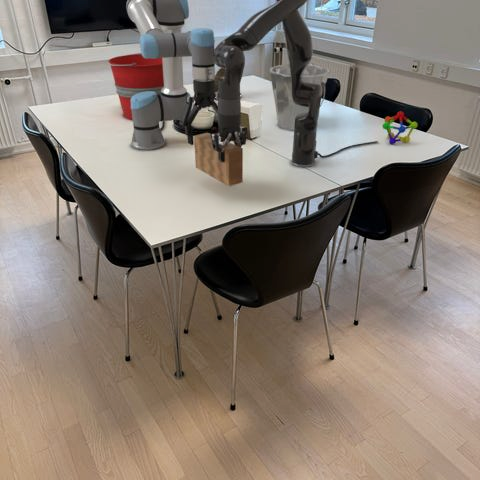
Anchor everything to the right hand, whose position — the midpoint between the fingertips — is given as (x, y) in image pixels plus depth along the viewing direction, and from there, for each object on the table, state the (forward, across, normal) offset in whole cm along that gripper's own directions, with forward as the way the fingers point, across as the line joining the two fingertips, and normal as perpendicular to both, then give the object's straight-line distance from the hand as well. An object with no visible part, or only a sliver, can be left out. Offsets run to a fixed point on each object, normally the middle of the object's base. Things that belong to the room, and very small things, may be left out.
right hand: (229, 159), depth 153 cm
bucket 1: (+15, +26, +113) cm, 116 cm away
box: (+8, 0, +7) cm, 11 cm away
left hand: (-3, 0, +14) cm, 14 cm away
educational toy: (+15, +97, -2) cm, 98 cm away
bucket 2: (+15, +78, +47) cm, 93 cm away
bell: (+15, +84, +115) cm, 143 cm away
